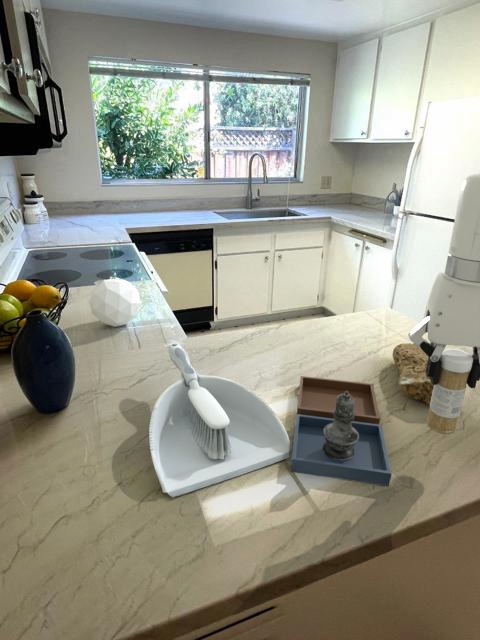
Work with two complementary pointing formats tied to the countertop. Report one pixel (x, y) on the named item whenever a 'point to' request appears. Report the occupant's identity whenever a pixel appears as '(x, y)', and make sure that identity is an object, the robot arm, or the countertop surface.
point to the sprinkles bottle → (449, 391)
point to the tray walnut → (323, 394)
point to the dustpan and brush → (210, 430)
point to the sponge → (413, 371)
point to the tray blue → (311, 459)
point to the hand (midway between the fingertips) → (450, 380)
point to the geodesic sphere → (114, 301)
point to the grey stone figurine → (341, 430)
